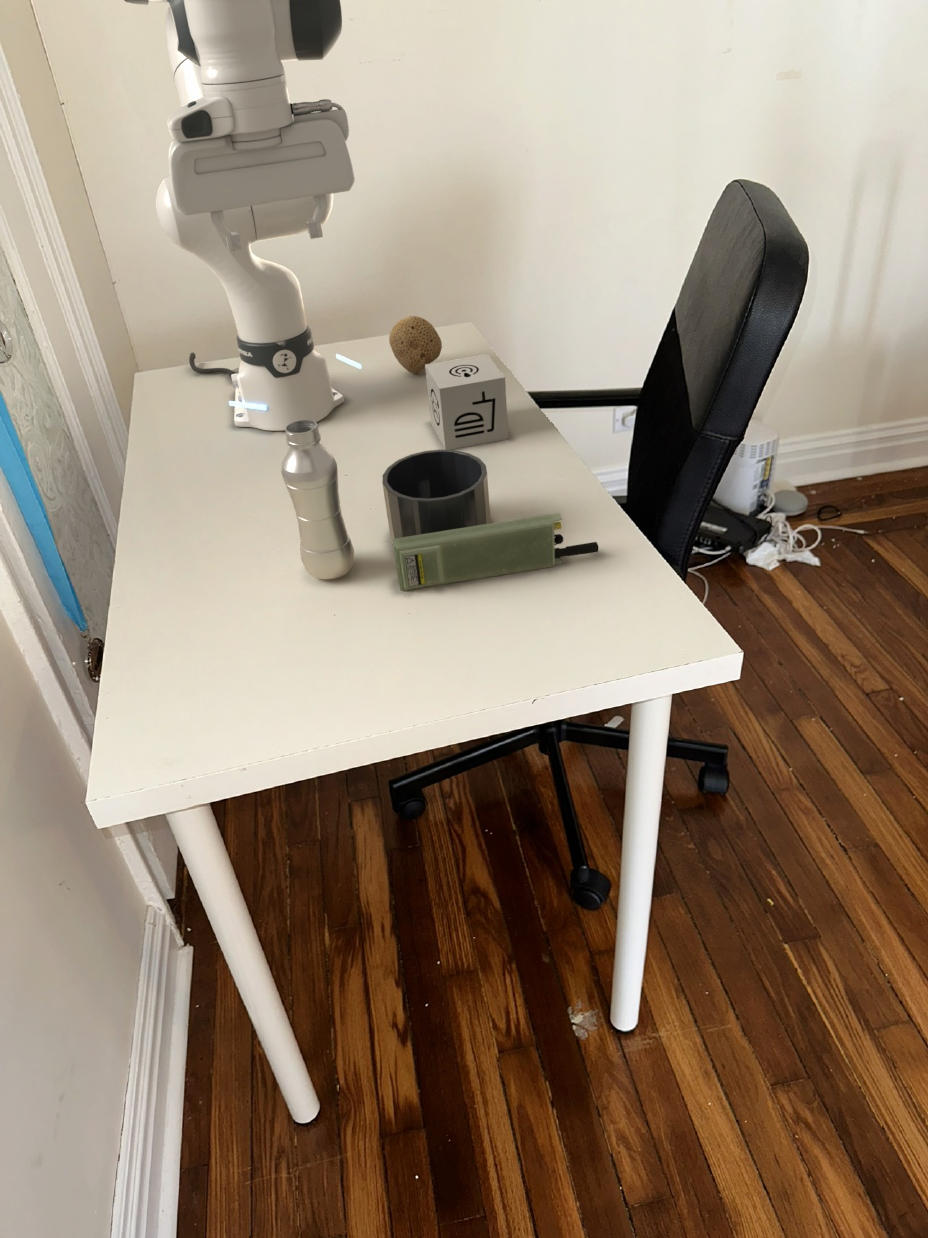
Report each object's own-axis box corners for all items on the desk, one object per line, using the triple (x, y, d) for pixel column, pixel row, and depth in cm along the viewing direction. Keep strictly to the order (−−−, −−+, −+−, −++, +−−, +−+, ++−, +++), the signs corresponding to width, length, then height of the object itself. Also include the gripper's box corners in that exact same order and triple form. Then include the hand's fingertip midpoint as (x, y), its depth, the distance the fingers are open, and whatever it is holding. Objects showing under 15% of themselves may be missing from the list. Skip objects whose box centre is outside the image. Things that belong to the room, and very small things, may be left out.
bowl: (378, 523, 125) (369, 464, 119) (469, 499, 128) (464, 441, 122) (409, 572, 115) (401, 510, 109) (506, 545, 118) (503, 483, 112)
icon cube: (508, 438, 142) (505, 377, 136) (445, 450, 140) (439, 388, 134) (491, 413, 149) (487, 353, 143) (431, 423, 148) (425, 364, 142)
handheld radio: (398, 579, 114) (593, 547, 116) (401, 595, 111) (601, 562, 113) (391, 534, 109) (594, 502, 112) (394, 550, 107) (602, 517, 109)
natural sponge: (432, 358, 170) (426, 304, 164) (452, 373, 163) (447, 318, 157) (386, 369, 167) (379, 315, 161) (405, 386, 161) (398, 330, 155)
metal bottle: (348, 587, 113) (320, 439, 101) (297, 584, 114) (263, 438, 102) (363, 558, 118) (338, 414, 106) (314, 555, 119) (283, 413, 107)
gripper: (339, 93, 103) (358, 223, 111) (153, 117, 99) (187, 250, 107) (349, 99, 98) (368, 235, 106) (154, 125, 94) (189, 264, 102)
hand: (275, 243), depth 107 cm, fingers open, 8 cm apart
